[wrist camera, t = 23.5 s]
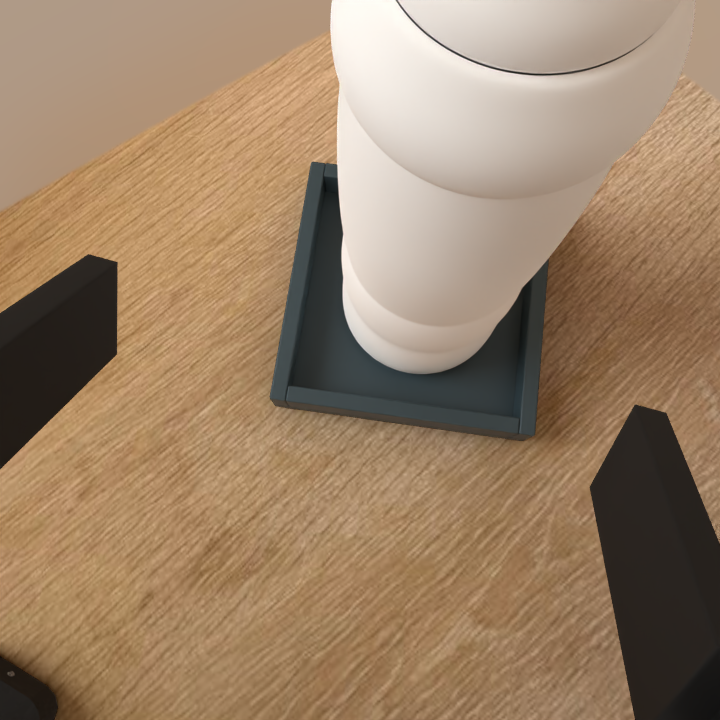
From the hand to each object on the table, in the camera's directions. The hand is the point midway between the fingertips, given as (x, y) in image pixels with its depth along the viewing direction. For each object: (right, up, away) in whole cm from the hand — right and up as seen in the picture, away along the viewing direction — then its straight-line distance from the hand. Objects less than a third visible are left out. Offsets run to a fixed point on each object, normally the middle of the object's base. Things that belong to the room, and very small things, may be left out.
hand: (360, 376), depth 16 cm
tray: (+3, +3, +14) cm, 15 cm away
